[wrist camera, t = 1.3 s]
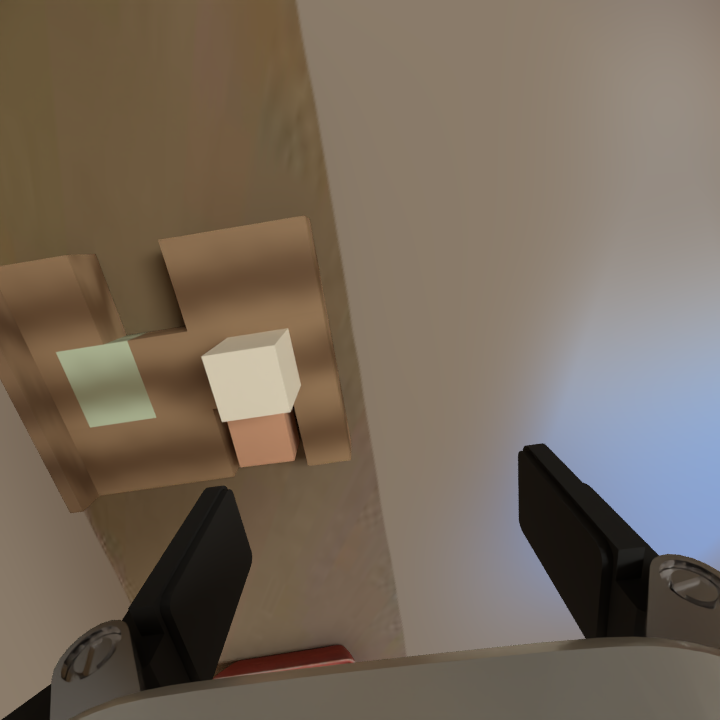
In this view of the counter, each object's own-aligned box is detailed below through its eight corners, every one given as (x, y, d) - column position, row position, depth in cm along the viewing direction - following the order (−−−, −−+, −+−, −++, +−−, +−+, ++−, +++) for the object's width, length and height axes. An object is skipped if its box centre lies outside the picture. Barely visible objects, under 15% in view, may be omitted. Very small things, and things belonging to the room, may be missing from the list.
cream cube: (227, 337, 28) (201, 356, 23) (288, 328, 28) (274, 345, 23) (243, 393, 29) (221, 422, 24) (300, 385, 29) (290, 412, 24)
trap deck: (12, 268, 29) (-56, 272, 24) (309, 218, 28) (300, 213, 23) (108, 477, 35) (70, 513, 30) (351, 442, 34) (350, 473, 30)
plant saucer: (259, 734, 50) (253, 767, 47) (217, 651, 44) (206, 682, 41) (381, 715, 49) (383, 747, 46) (354, 628, 43) (354, 658, 40)
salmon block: (239, 401, 33) (226, 418, 30) (290, 394, 33) (283, 411, 30) (251, 446, 35) (240, 467, 31) (300, 440, 34) (294, 460, 31)
